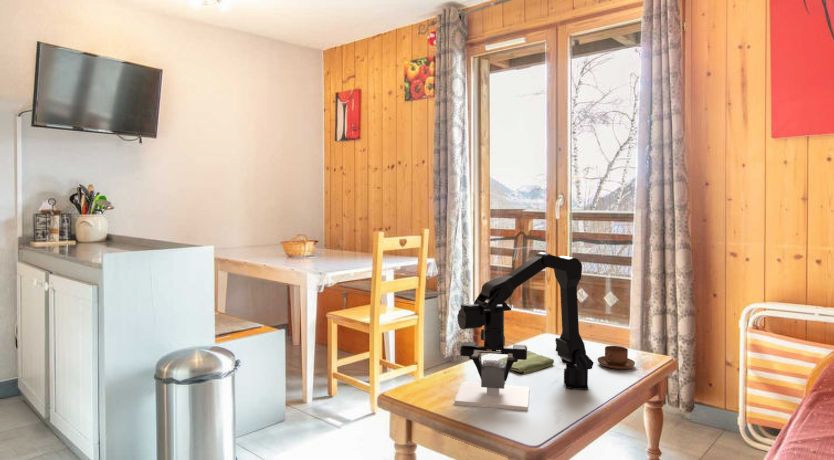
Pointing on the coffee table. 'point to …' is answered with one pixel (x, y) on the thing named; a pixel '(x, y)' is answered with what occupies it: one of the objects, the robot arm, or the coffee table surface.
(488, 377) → the dark grey framed cube
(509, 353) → the robot arm
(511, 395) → the post plate
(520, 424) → the coffee table surface
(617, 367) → the cup and saucer
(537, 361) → the washcloth
